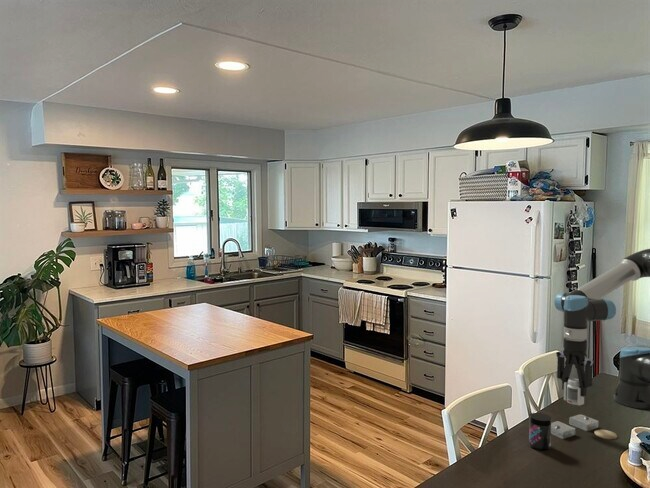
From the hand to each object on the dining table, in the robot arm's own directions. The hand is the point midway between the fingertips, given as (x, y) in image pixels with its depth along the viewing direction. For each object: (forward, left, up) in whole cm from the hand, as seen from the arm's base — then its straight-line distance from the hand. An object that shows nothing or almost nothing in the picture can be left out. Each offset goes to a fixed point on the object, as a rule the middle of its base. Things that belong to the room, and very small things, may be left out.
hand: (573, 401), depth 179 cm
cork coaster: (-6, +8, -10) cm, 15 cm away
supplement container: (+22, +3, -11) cm, 25 cm away
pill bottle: (0, 0, -1) cm, 1 cm away
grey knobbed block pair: (0, 0, -10) cm, 10 cm away
